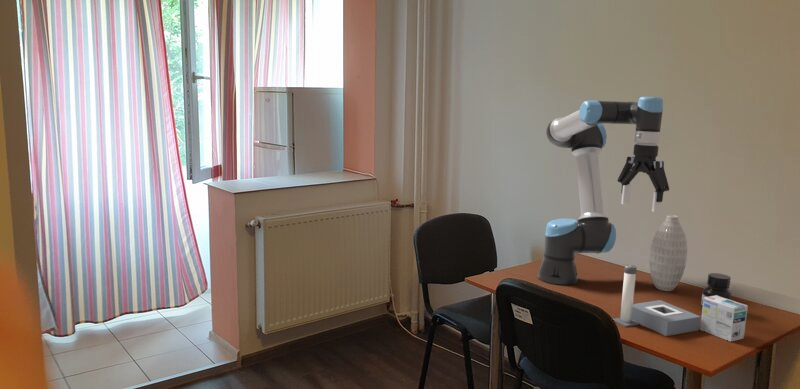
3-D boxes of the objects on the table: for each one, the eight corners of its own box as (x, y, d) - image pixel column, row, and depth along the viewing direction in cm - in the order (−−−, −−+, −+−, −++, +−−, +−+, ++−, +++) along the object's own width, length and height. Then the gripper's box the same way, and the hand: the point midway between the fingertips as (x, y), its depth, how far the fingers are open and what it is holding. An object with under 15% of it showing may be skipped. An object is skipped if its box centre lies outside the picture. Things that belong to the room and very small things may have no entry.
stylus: (617, 319, 199) (622, 265, 196) (625, 318, 201) (630, 264, 198) (625, 323, 196) (630, 268, 193) (633, 322, 197) (638, 267, 195)
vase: (647, 281, 243) (655, 211, 238) (683, 286, 238) (691, 214, 233) (645, 290, 232) (653, 216, 227) (682, 296, 226) (691, 220, 222)
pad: (611, 320, 200) (611, 318, 200) (625, 318, 202) (626, 316, 202) (625, 327, 194) (625, 325, 194) (639, 324, 197) (640, 323, 197)
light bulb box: (744, 338, 188) (749, 305, 187) (730, 342, 185) (735, 308, 183) (712, 326, 198) (716, 294, 196) (698, 330, 194) (702, 297, 192)
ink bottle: (695, 304, 218) (699, 271, 216) (718, 304, 219) (723, 271, 217) (711, 314, 208) (715, 280, 206) (736, 314, 209) (740, 280, 207)
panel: (627, 317, 202) (628, 304, 202) (658, 312, 208) (660, 299, 207) (666, 336, 188) (667, 321, 187) (698, 330, 194) (700, 315, 193)
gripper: (610, 140, 213) (604, 201, 217) (668, 148, 191) (661, 215, 195) (627, 140, 217) (621, 200, 220) (685, 148, 194) (678, 214, 198)
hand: (639, 207), depth 207 cm, fingers open, 13 cm apart
